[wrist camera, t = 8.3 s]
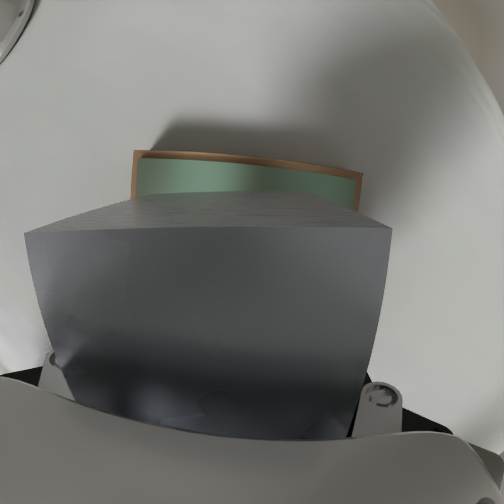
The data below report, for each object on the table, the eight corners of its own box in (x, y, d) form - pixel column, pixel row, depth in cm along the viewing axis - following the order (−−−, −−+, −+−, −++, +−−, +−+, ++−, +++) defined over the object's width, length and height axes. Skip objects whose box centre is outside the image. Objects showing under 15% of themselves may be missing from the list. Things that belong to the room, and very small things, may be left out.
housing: (150, 194, 11) (24, 233, 4) (307, 191, 10) (392, 228, 4) (180, 406, 14) (150, 515, 7) (292, 409, 14) (306, 524, 7)
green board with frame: (146, 329, 22) (134, 350, 19) (148, 152, 18) (131, 150, 15) (315, 347, 23) (322, 369, 20) (349, 172, 19) (365, 173, 16)
